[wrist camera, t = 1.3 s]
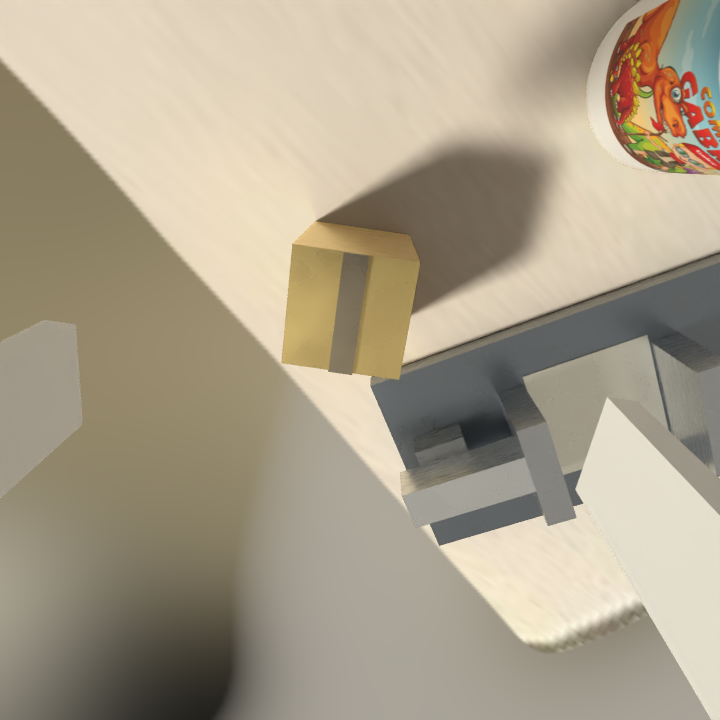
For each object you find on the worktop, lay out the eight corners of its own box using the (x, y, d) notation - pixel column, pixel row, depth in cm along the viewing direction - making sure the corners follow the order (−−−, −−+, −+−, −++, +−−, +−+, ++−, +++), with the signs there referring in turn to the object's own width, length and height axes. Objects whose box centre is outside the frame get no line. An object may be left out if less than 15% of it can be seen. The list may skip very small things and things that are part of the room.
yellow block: (315, 220, 27) (291, 244, 20) (409, 234, 28) (420, 263, 20) (306, 311, 29) (280, 364, 22) (393, 323, 29) (399, 381, 22)
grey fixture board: (369, 378, 31) (367, 423, 25) (785, 229, 27) (884, 246, 22) (435, 533, 34) (446, 600, 29) (807, 422, 31) (895, 476, 25)
